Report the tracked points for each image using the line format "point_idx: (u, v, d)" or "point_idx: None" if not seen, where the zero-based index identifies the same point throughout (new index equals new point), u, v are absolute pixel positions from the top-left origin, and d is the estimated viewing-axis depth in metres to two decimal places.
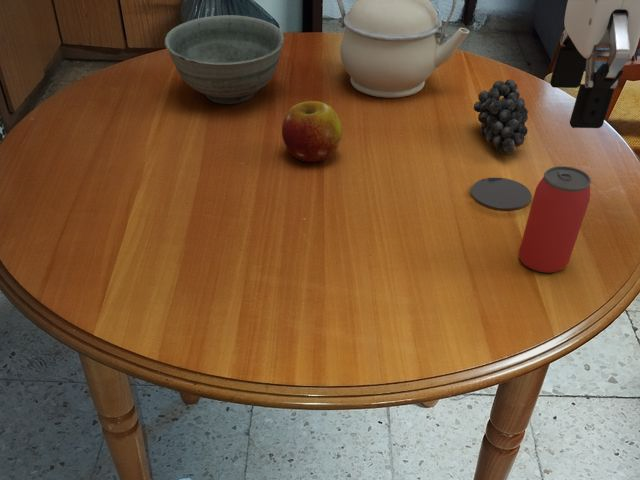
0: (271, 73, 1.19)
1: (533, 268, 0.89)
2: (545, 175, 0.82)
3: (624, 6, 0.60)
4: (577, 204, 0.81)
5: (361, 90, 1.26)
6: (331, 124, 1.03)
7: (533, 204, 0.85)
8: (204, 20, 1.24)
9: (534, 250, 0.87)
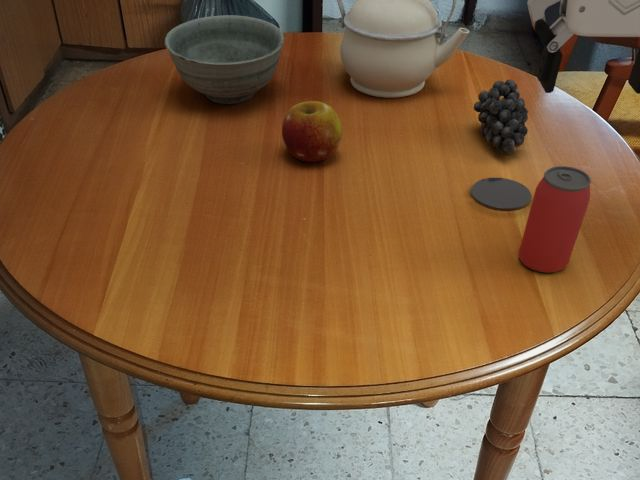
0: (271, 73, 1.19)
1: (533, 268, 0.89)
2: (545, 175, 0.82)
3: None
4: (577, 203, 0.81)
5: (361, 90, 1.26)
6: (331, 124, 1.03)
7: (533, 204, 0.85)
8: (204, 20, 1.24)
9: (534, 250, 0.87)
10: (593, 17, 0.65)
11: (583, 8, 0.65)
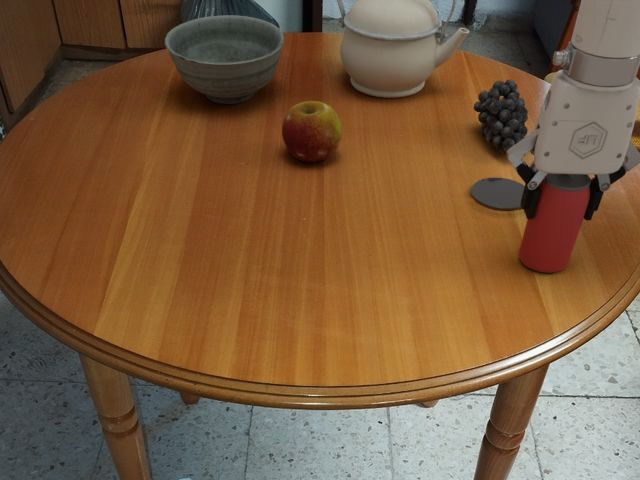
0: (271, 73, 1.19)
1: (533, 268, 0.89)
2: None
3: (538, 126, 0.77)
4: (577, 204, 0.81)
5: (361, 90, 1.26)
6: (331, 124, 1.03)
7: None
8: (204, 20, 1.24)
9: (534, 250, 0.87)
10: (556, 160, 0.77)
11: (548, 153, 0.77)
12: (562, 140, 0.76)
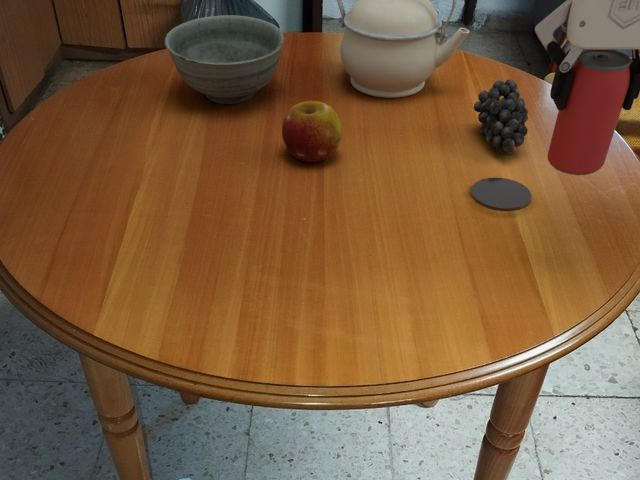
0: (271, 73, 1.19)
1: (565, 170, 0.79)
2: (579, 56, 0.73)
3: None
4: (616, 87, 0.72)
5: (361, 90, 1.26)
6: (331, 124, 1.03)
7: None
8: (204, 20, 1.24)
9: (566, 148, 0.77)
10: (593, 31, 0.68)
11: (583, 23, 0.68)
12: (600, 5, 0.66)
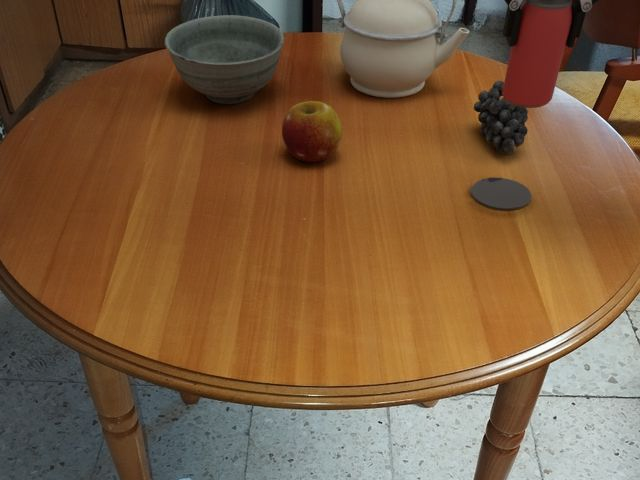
0: (271, 73, 1.19)
1: (516, 103, 0.89)
2: None
3: None
4: (559, 23, 0.81)
5: (361, 90, 1.26)
6: (331, 124, 1.03)
7: None
8: (204, 20, 1.24)
9: (517, 82, 0.87)
10: None
11: None
12: None
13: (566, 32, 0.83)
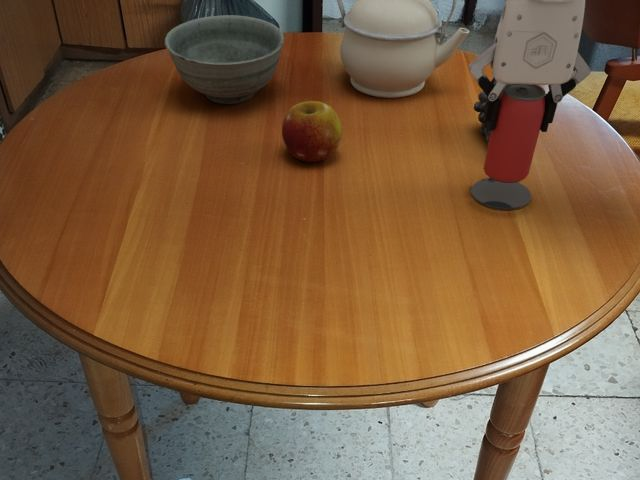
0: (271, 73, 1.19)
1: (496, 179, 0.97)
2: (504, 88, 0.91)
3: (496, 40, 0.86)
4: (533, 113, 0.90)
5: (361, 90, 1.26)
6: (331, 124, 1.03)
7: None
8: (204, 20, 1.24)
9: (496, 161, 0.96)
10: (512, 70, 0.86)
11: (504, 63, 0.86)
12: (516, 50, 0.85)
13: (540, 120, 0.92)
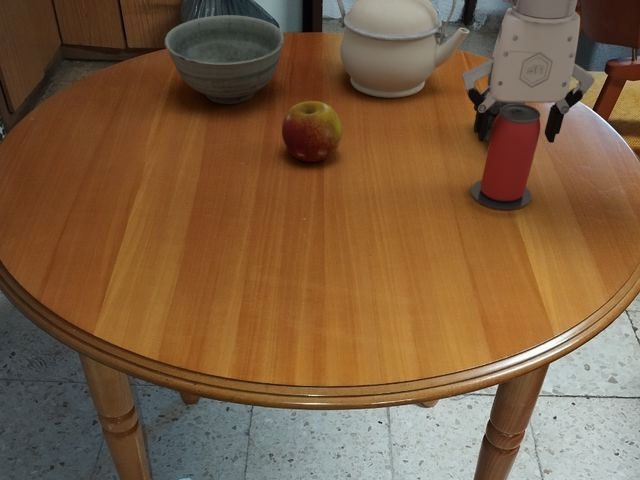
0: (271, 73, 1.19)
1: (492, 197, 1.00)
2: (500, 110, 0.93)
3: (494, 56, 0.87)
4: (528, 135, 0.92)
5: (361, 90, 1.26)
6: (331, 124, 1.03)
7: (491, 138, 0.96)
8: (204, 20, 1.24)
9: (493, 180, 0.98)
10: (509, 89, 0.88)
11: (501, 82, 0.88)
12: (513, 70, 0.86)
13: (535, 141, 0.94)
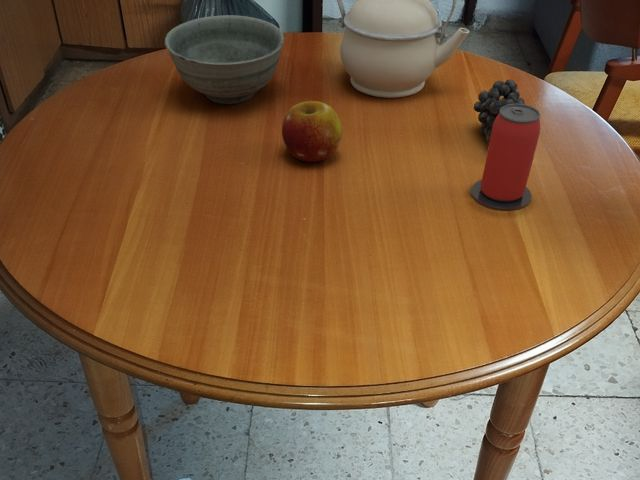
0: (271, 73, 1.19)
1: (492, 197, 1.00)
2: (500, 110, 0.93)
3: None
4: (528, 135, 0.92)
5: (361, 90, 1.26)
6: (331, 124, 1.03)
7: (491, 138, 0.96)
8: (204, 20, 1.24)
9: (493, 180, 0.98)
10: None
11: None
12: None
13: (535, 141, 0.94)
